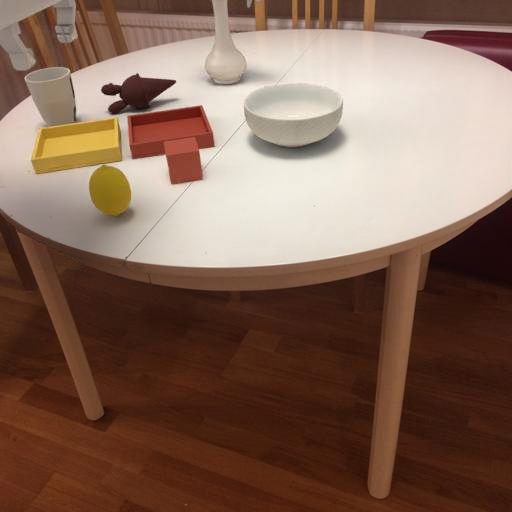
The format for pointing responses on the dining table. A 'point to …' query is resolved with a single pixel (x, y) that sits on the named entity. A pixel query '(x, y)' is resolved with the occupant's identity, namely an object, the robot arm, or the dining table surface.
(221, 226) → the dining table surface
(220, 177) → the dining table surface
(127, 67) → the dining table surface
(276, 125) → the cereal bowl
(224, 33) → the flower vase
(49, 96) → the cup
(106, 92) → the icecream
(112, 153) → the yellow tray
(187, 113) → the red tray
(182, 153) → the red block
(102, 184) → the lemon
